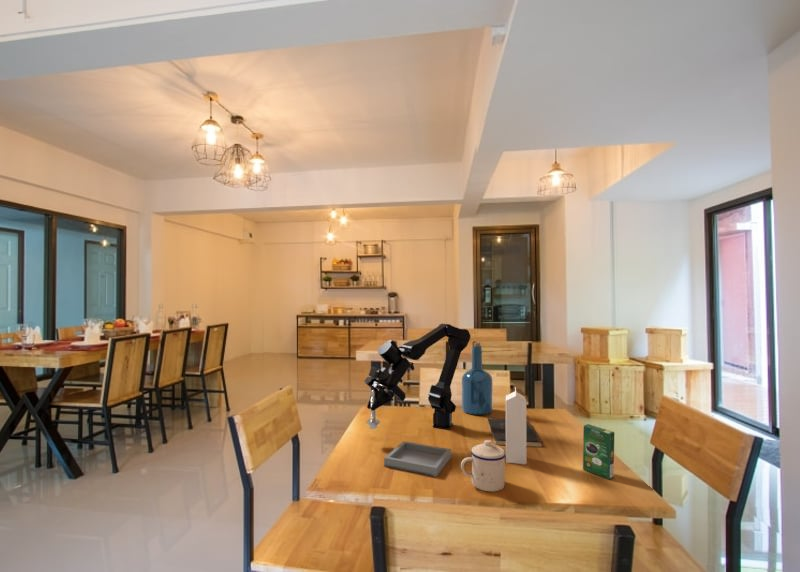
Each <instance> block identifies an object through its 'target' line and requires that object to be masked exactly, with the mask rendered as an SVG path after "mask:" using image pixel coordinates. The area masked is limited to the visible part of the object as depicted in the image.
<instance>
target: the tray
mask: <svg viewBox="0 0 800 572" xmlns="http://www.w3.org/2000/svg"><path fill="white" fill-rule="evenodd" d="M383 459H384V460H383V466H384V467H386V468H391V469H396V470H400V471H405V472H410V473H415V474H419V475H424V476H430V477H435V478H437V477H438V475H439V474H441V472H442V470H443V469H444V468H445V466H446V465H447V464H448V462H449V461H450V460H451V459H452V449H450V448H445V447H440V446H439V447H438V446H433V445H428V444H421V443H415V442H410V441H405V440H404V441H401V443H399V444H398V445H397V446H396V447H395V448H394V449H393V450H391V451H390V452H389V453H388V454H386V456H384V457H383Z"/></svg>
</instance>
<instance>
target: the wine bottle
mask: <svg viewBox="0 0 800 572" xmlns="http://www.w3.org/2000/svg"><path fill="white" fill-rule="evenodd" d="M471 353H472V357H471V358H472V360H471V368H470V369H469V370H466V371H465V372H464V374H462V377H461V410H462V411H463V412H464V413H467V414H469V415H473V416H474V415H475V416H486V415H489V414H491V413H492V411H493V403H494V402H493V394H494V393H493V389H494V388H493V383H494V382H493V380H494V379H493V377H492V375H491V374H490V373H489V372H488V371H486V370H484V368H483V355H482V354H483V349H482V345H481V343H480V342H473V346H472V351H471Z"/></svg>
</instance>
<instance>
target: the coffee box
mask: <svg viewBox="0 0 800 572" xmlns="http://www.w3.org/2000/svg"><path fill="white" fill-rule="evenodd" d="M582 435H583V441H582V442H583V443H582V444H583V445H582V446H583V447H582V448H583V449H582V452H583V453H582V470H584V471H586V472H589V473H592V474H594V475H596V476H599V477H601V478H602V479H603V478H604V479H607V480H609V481H611V479H614V475H615V471H614V470H615V467H614V466H615V431H612V430H608V429H606V428H601V427H599V426H596V425H592V424H590V423H586V424H584V425H583V434H582Z"/></svg>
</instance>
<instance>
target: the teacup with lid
mask: <svg viewBox="0 0 800 572" xmlns="http://www.w3.org/2000/svg"><path fill="white" fill-rule="evenodd" d="M470 453H471V456H468V457H465V458H463V459H462V461H461V463H460V469H461V471H462V473H463V474H464V475H465V476H466V477H469V478H470V477H471V483H472V485H473V486H474V487H475V488H476V489H478V490H481V491H483V492H489V493H491V492H492V493H493V492H498V491H501V490H503V489H504V487H505V458H506V451H505V450H504V449H503V448H502V447H500V446H499V445H496V444H495V443H494V444H493V441H492V440H491V439H485V440H484V441H483V442H482V443H479V444H476V445H474V446H473V447H472V448H471V450H470ZM467 462H471V472H467V471H466V470H465V464H467Z"/></svg>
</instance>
